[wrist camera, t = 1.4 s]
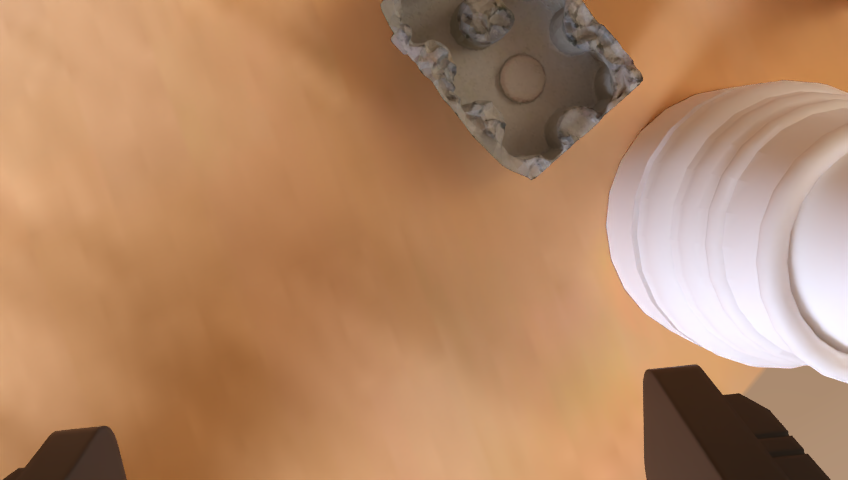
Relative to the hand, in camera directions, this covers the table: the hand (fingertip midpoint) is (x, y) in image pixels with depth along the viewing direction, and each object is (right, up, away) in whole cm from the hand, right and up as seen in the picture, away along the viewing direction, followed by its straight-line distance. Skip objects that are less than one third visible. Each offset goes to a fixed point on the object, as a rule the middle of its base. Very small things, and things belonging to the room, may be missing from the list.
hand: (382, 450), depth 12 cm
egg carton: (+4, +12, +26) cm, 29 cm away
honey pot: (+16, +4, +28) cm, 33 cm away
